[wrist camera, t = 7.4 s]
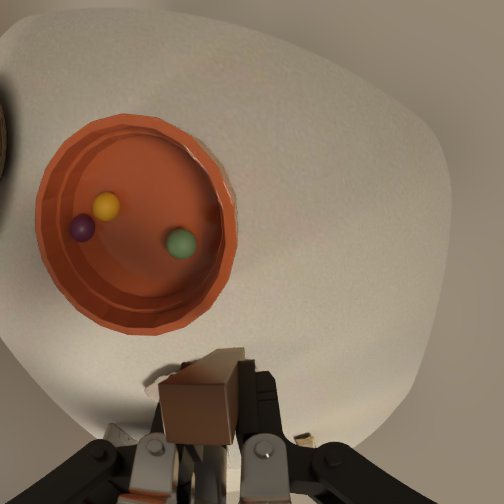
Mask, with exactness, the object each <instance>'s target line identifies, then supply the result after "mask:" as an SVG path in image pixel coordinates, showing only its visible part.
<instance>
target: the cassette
mask: <svg viewBox="0 0 504 504" xmlns="http://www.w3.org/2000/svg"><path fill="white" fill-rule="evenodd" d="M103 439H105V440H108V441H110V442H111V443H112V444H113V445H114V446H115V447H120V446H128V445H135V444H138V442H136V441H135V440H134V439H132V438H131V437H130V436H128V435H127V434H126V433H125V432H123V431H122V430H121V429H118V428H117V427H116V426H115V425H114V424H109V425H108V427H107V430H106V432H105V435H104V437H103Z"/></svg>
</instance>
